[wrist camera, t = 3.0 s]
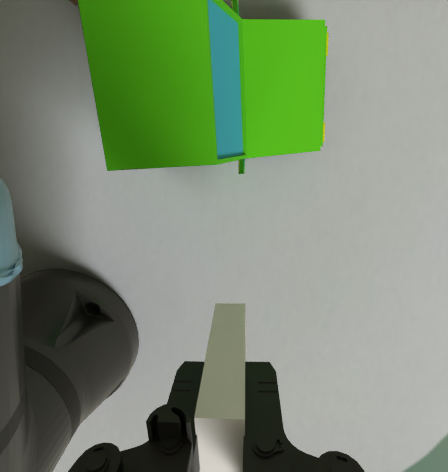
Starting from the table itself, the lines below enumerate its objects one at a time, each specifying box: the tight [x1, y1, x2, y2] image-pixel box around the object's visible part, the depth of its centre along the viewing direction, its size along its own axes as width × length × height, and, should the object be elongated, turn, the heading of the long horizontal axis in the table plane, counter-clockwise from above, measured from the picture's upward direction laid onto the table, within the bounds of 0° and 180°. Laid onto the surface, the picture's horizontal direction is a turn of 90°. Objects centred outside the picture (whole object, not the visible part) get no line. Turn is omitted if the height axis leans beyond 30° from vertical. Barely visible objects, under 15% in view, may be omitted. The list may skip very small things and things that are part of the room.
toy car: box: [78, 0, 329, 174], centre depth 20 cm, size 10×13×10 cm
